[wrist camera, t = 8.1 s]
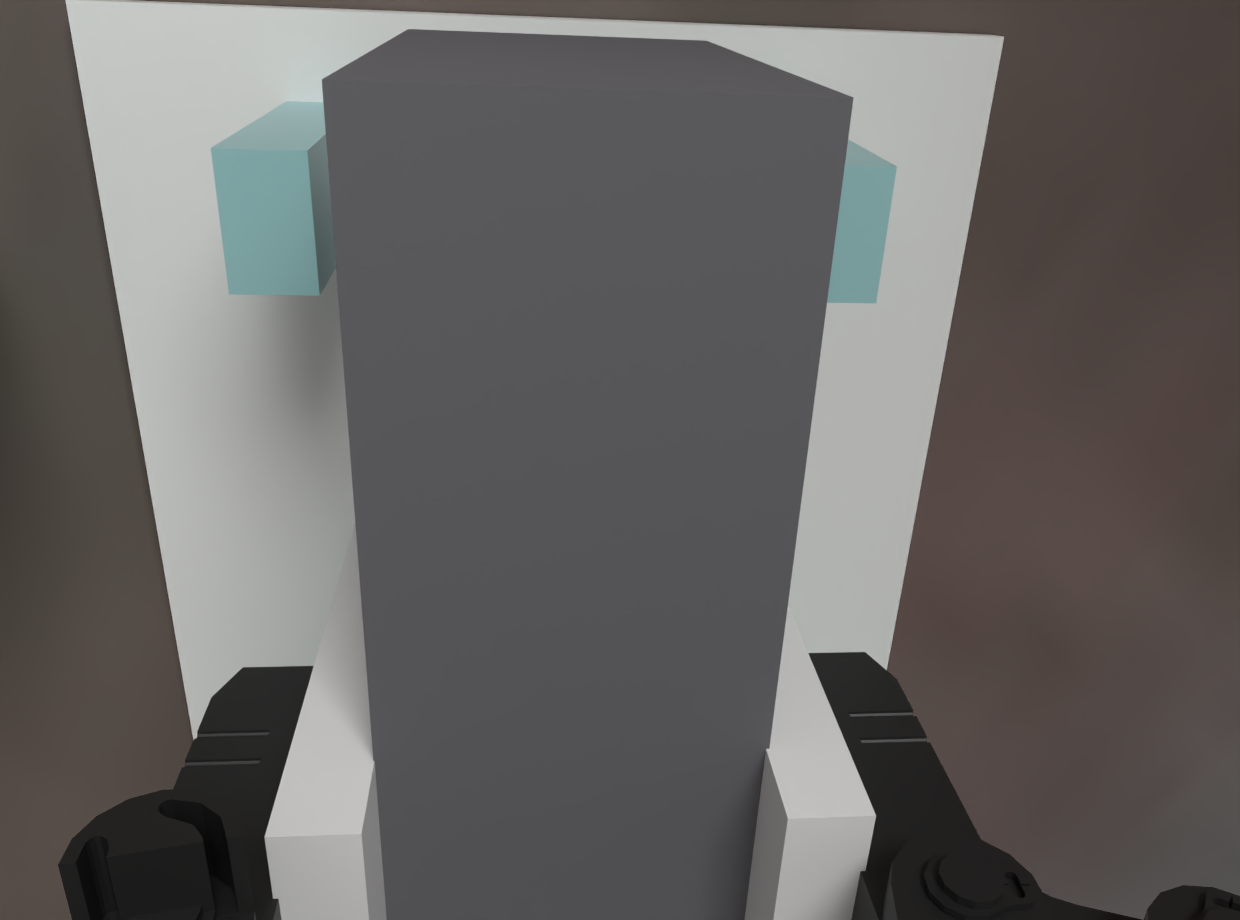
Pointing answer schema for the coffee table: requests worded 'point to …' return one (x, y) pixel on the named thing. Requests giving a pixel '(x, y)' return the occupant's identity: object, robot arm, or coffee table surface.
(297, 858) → the robot arm
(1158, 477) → the coffee table surface
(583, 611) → the bar
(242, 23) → the board
